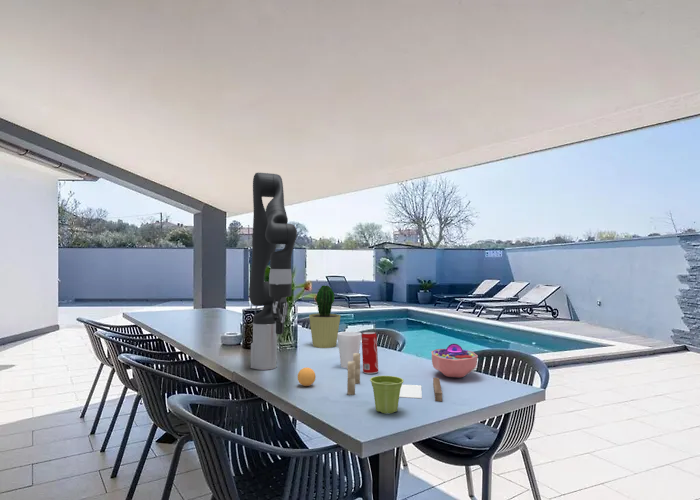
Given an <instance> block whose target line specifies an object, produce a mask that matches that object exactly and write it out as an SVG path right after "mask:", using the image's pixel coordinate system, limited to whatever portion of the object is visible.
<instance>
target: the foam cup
mask: <svg viewBox="0 0 700 500" xmlns="http://www.w3.org/2000/svg"><path fill="white" fill-rule="evenodd" d="M337 342H338V350H339V351H338V352H339V353H338V354H339V361H340V367H341V368H344V369H348V362H349V361H353V354H354V353H360V350H361V349H360V348H361V343H362V333H361V332H359V331H340V332H339V331H338V333H337Z"/></svg>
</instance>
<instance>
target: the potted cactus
mask: <svg viewBox="0 0 700 500" xmlns="http://www.w3.org/2000/svg"><path fill="white" fill-rule="evenodd" d="M331 286H332V285H331ZM331 286H330V285H325V284H324V285H323V284H321V285H320V287H319V288H317V290H318V291H317V293H316V294H315V296H316V297H315V303H316V305H317V312H318V313H313V314H308V316H309V318H308V319H309V326H310V332H311V333H310V334H311V342H312V347H314V348H320V349H330V348H335V347H337V342H338V339H337V333H339V330H340V329H339V328H340V322H341V315H340V314H336V313H332V309H334V308H333V306H334V305H333V304H334V303H335V296H336V294H335V291H334V290H333V287H331Z"/></svg>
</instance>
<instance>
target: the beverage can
mask: <svg viewBox="0 0 700 500" xmlns="http://www.w3.org/2000/svg"><path fill="white" fill-rule="evenodd" d="M377 337H378V336H377V332H376V331H364V332H362V333H361V355H362V356H361V357H362V358H361V359H362V372H363V374H367V375H370V374H371V375H372V374H377V373H378V372H379V357H378V356H379V355H378V338H377Z"/></svg>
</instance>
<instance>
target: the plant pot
mask: <svg viewBox="0 0 700 500" xmlns="http://www.w3.org/2000/svg"><path fill="white" fill-rule="evenodd" d="M369 381H370V383H371V387H372V391H373V397H374V398H373V399H374V405H375V407H374V408H375V410H376V412H381V413H382V414H393V413H395V412H398V408H399V401H400V397H399V395H400V389H401V386H402V384H403V383H404V379H403V378H402V377H398V376H393V375H377V376H372V377H370V379H369Z"/></svg>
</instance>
